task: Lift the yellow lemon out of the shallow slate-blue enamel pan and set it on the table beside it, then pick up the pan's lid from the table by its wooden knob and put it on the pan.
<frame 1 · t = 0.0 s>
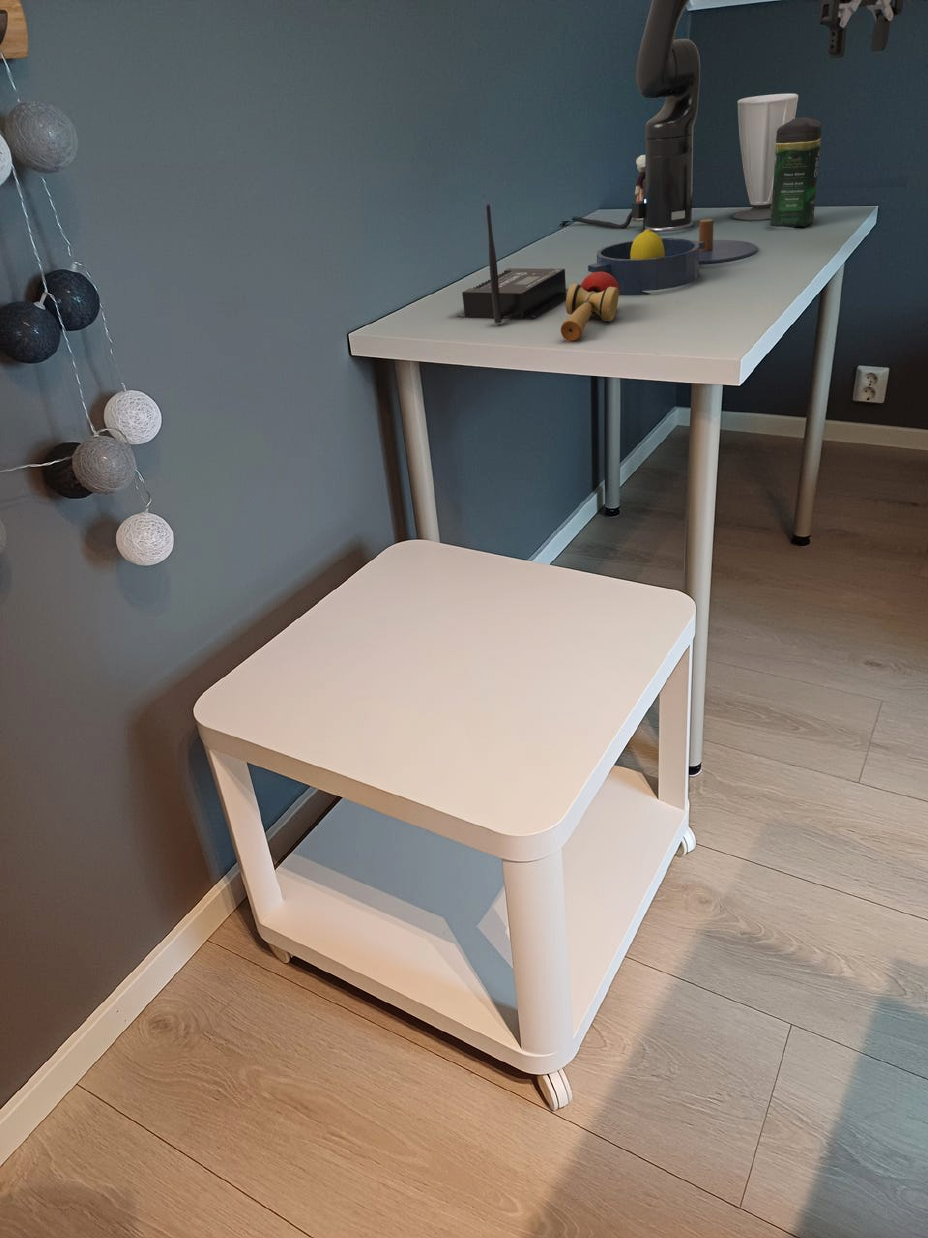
hand: (857, 54, 143), 29 cm above the table, tool pointing down, fingers open, 8 cm apart
cup: (761, 215, 196), on the table
lemon: (647, 281, 157), resting on pan
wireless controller: (511, 309, 152), on the table
coffee jar: (792, 225, 184), on the table
kendama: (589, 325, 139), on the table
pan lid: (705, 252, 168), point 1 cm above the table
pan: (647, 282, 157), on the table
grandmother figurine: (643, 219, 206), on the table
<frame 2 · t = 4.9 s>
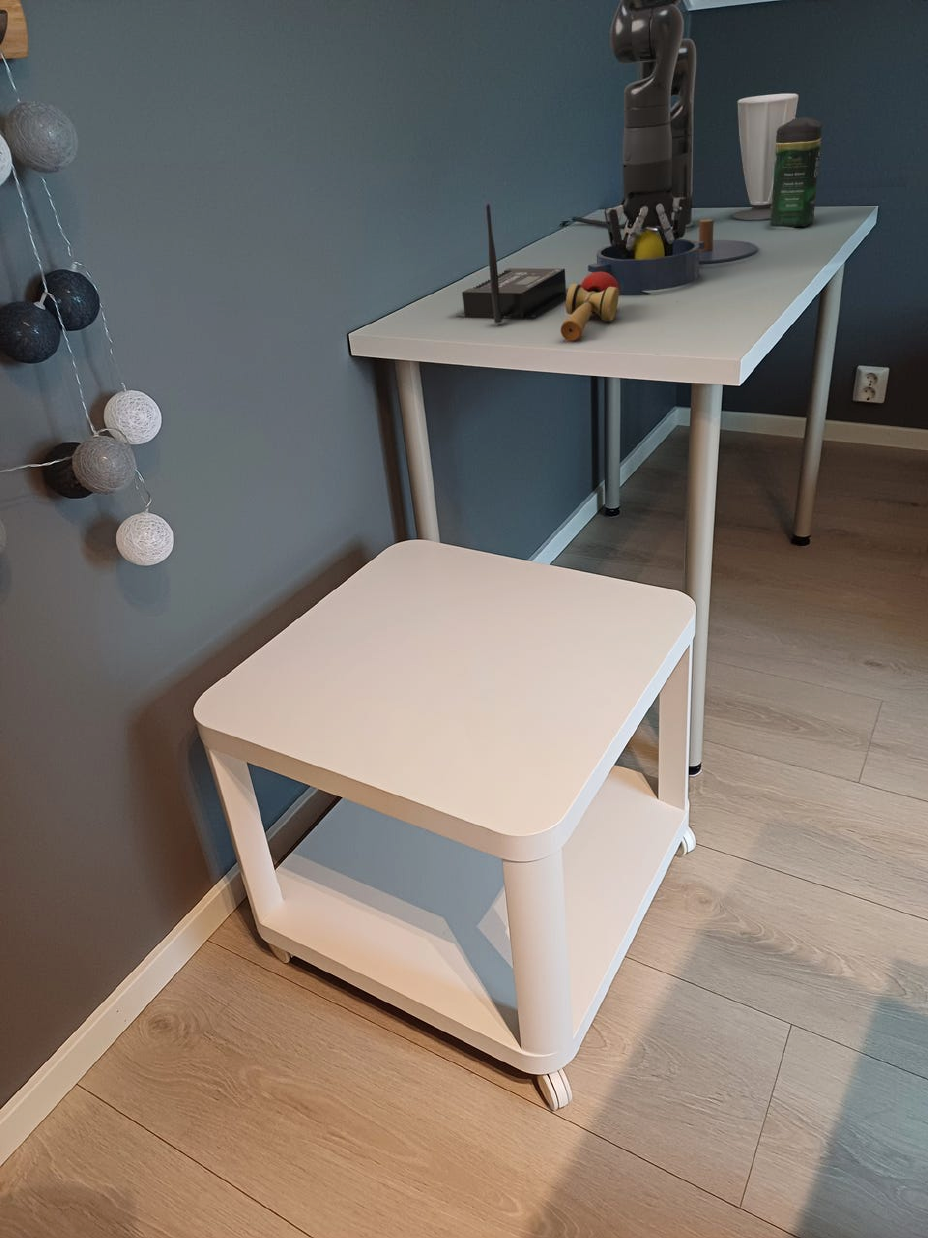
hand: (647, 269, 156), 2 cm above the table, tool pointing down, fingers closed on lemon, 5 cm apart
lemon: (647, 281, 157), resting on pan, touching gripper
everything else where it was.
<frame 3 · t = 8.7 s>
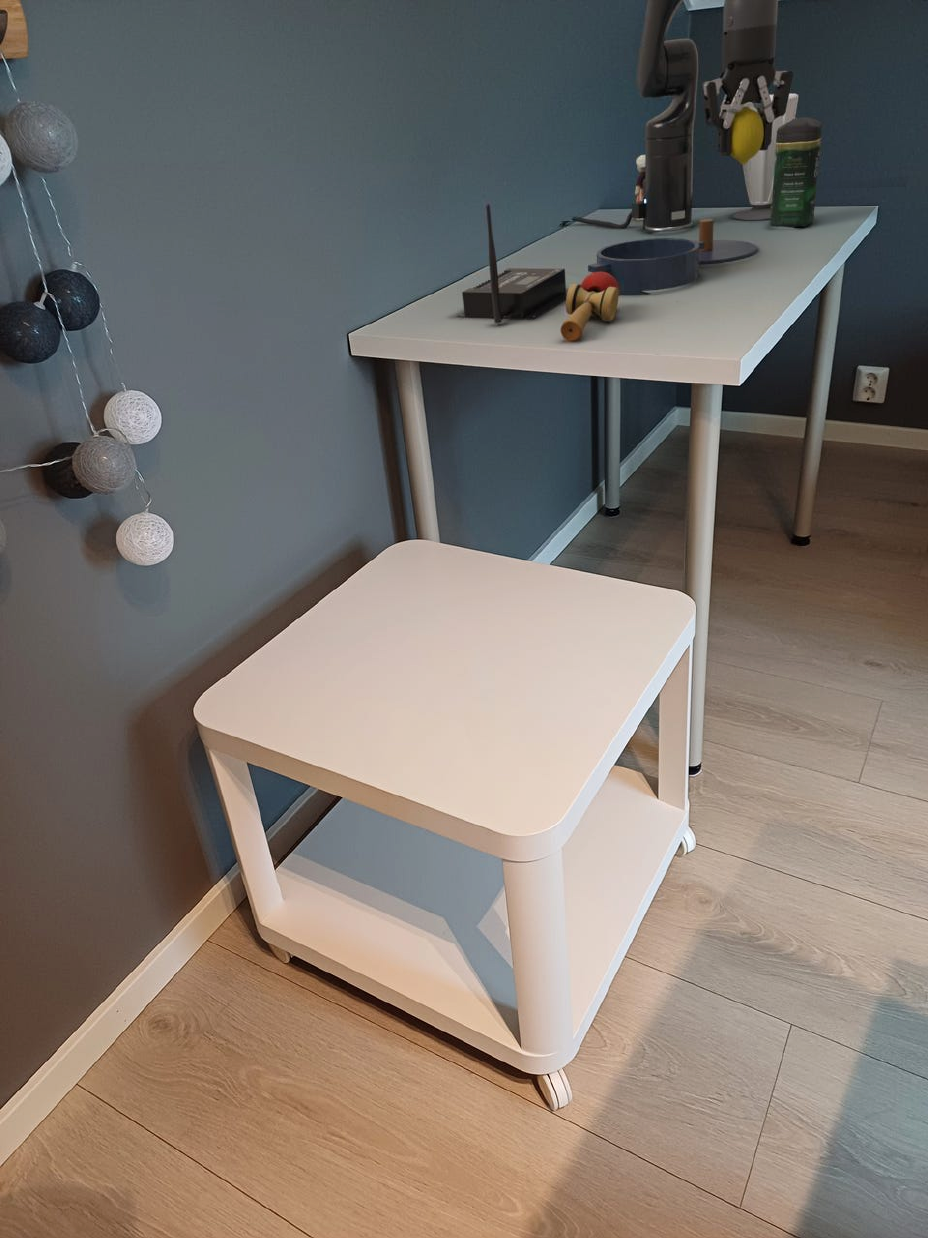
hand: (743, 152, 145), 18 cm above the table, tool pointing down, fingers closed on lemon, 5 cm apart
lemon: (743, 165, 146), point 16 cm above the table, touching gripper
everything else where it was.
when the fingers open (2 cm above the table, at t = 12.8 s): lemon stays where it is, on the table.
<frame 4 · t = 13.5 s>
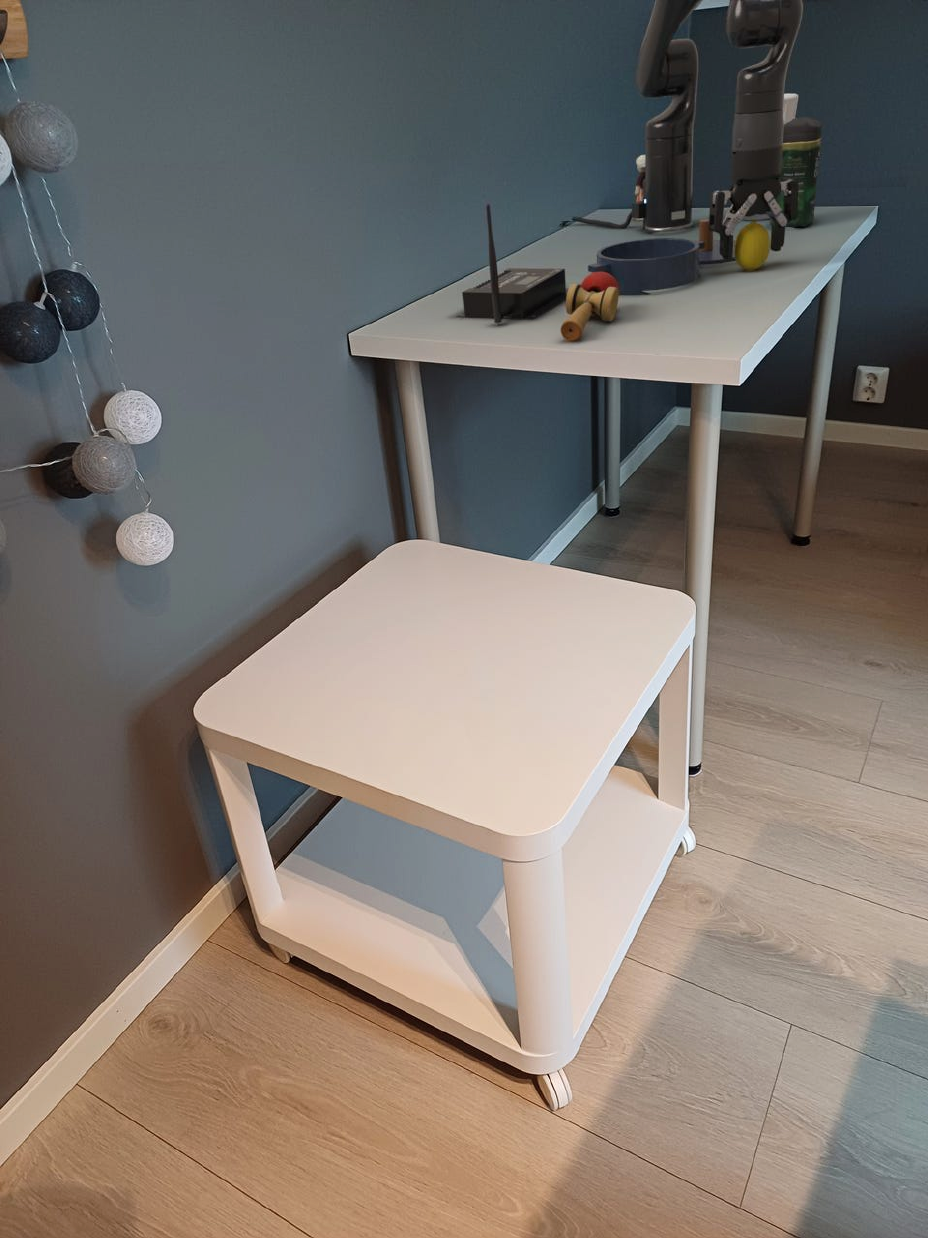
hand: (751, 254, 153), 3 cm above the table, tool pointing down, fingers open, 8 cm apart
lemon: (750, 274, 155), on the table
everything else where it was.
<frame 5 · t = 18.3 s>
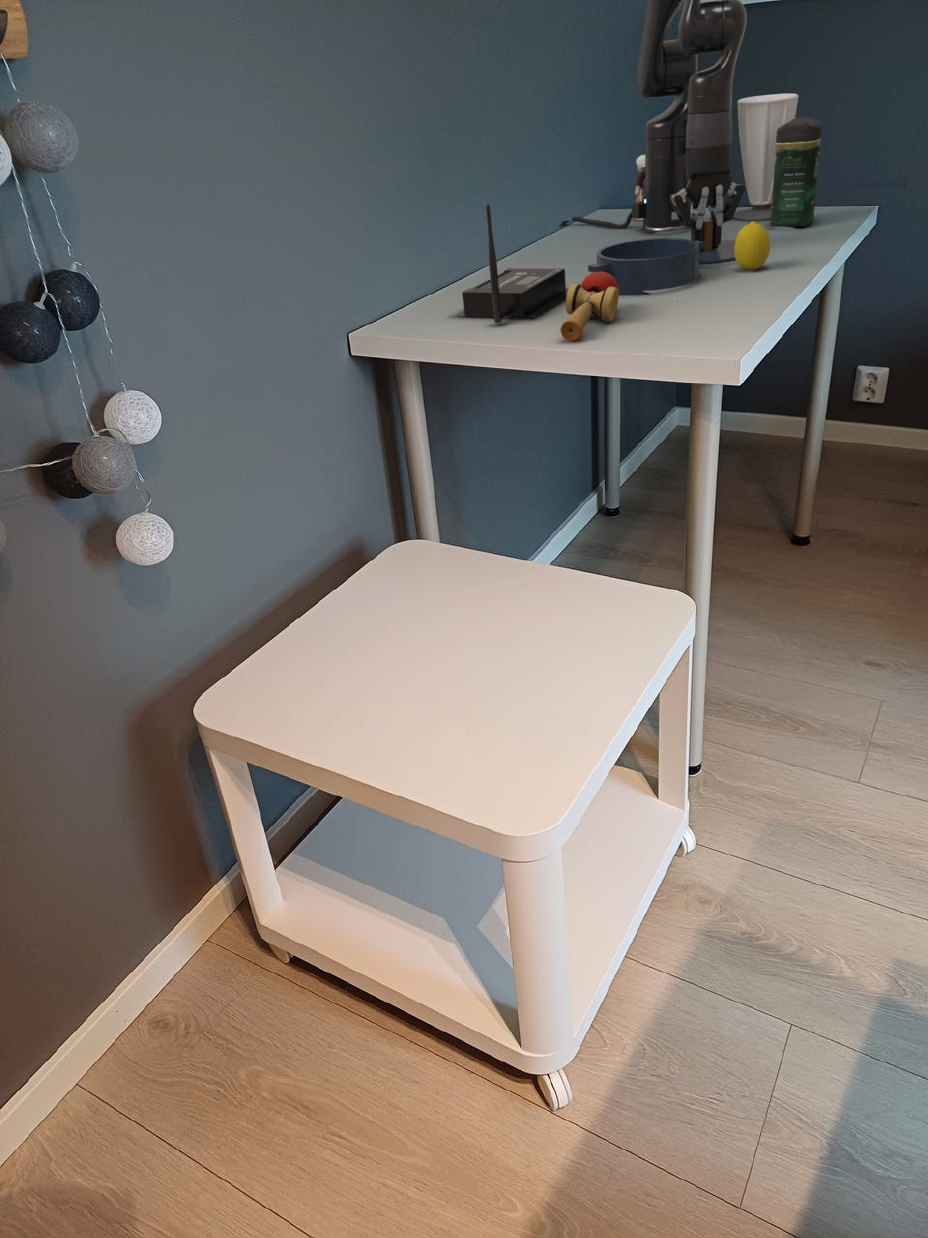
hand: (705, 248, 168), 1 cm above the table, tool pointing down, fingers closed on pan lid, 2 cm apart
pan lid: (705, 252, 168), point 1 cm above the table, touching gripper
everything else where it was.
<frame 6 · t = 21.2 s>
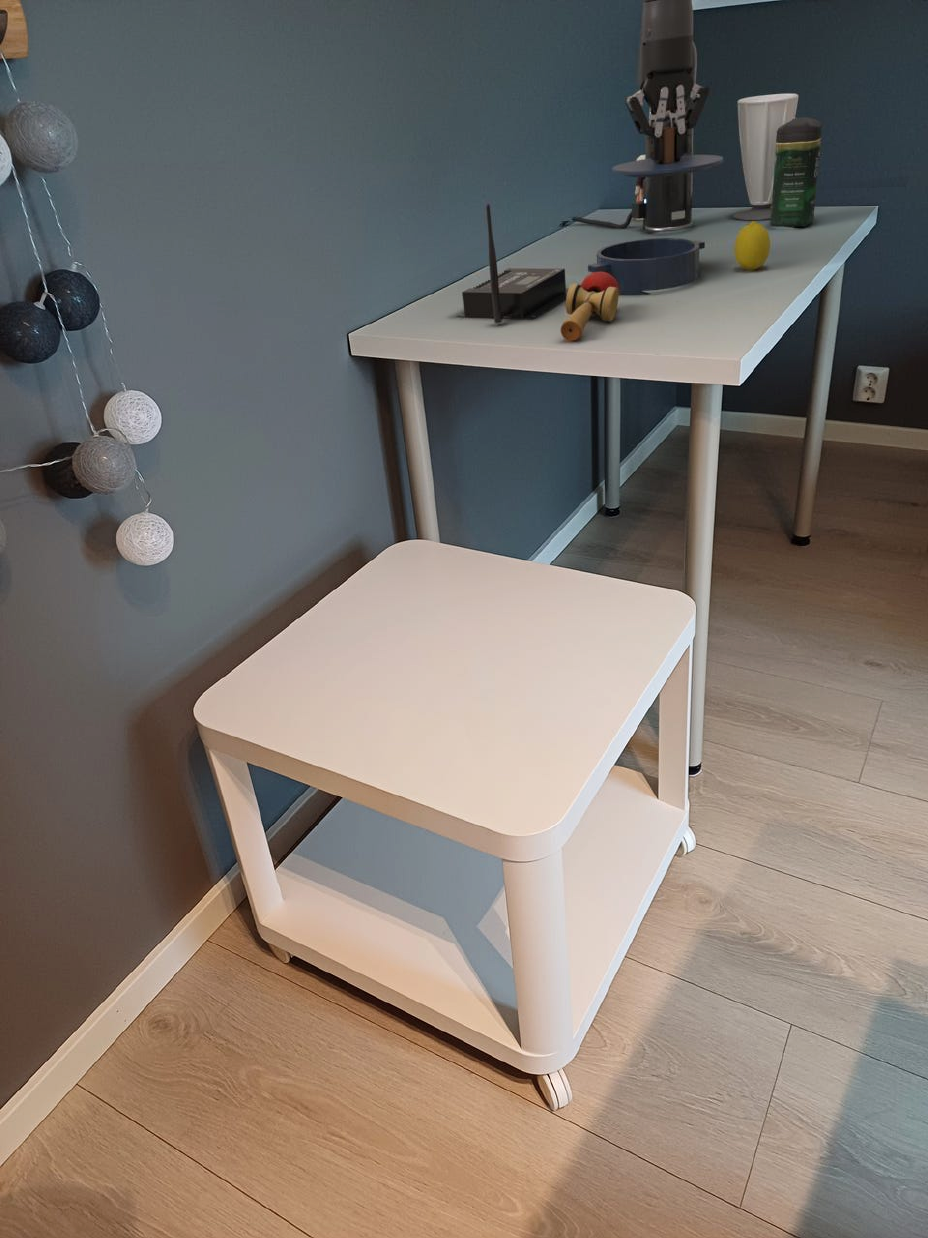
hand: (666, 161, 151), 18 cm above the table, tool pointing down, fingers closed on pan lid, 2 cm apart
pan lid: (667, 166, 151), point 17 cm above the table, touching gripper
everything else where it was.
when the fingers open (6 cm above the table, at t = 24.5 s): pan lid stays where it is, resting on pan.
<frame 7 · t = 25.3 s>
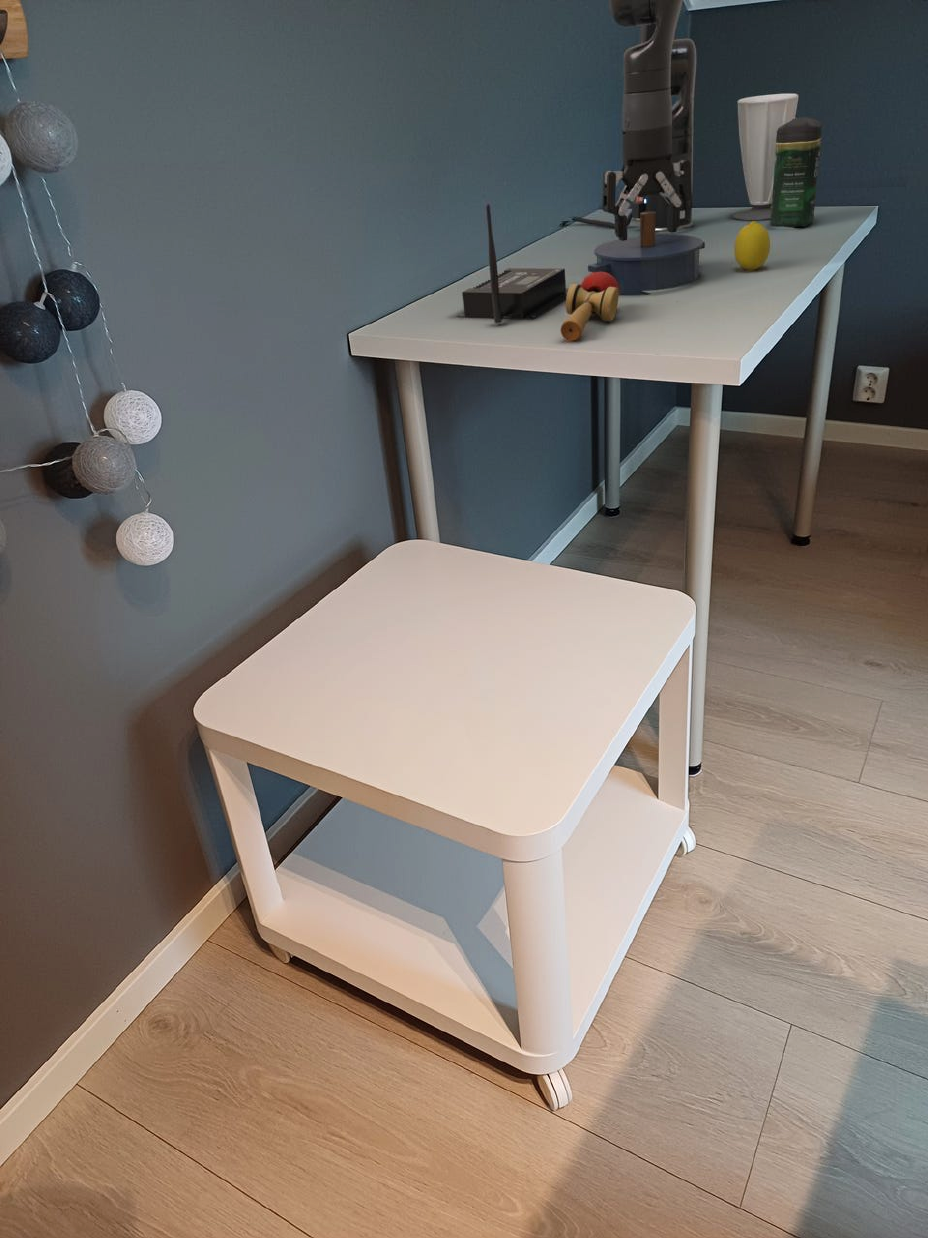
hand: (647, 235, 153), 7 cm above the table, tool pointing down, fingers open, 8 cm apart
pan lid: (647, 248, 154), point 5 cm above the table, touching pan
everything else where it was.
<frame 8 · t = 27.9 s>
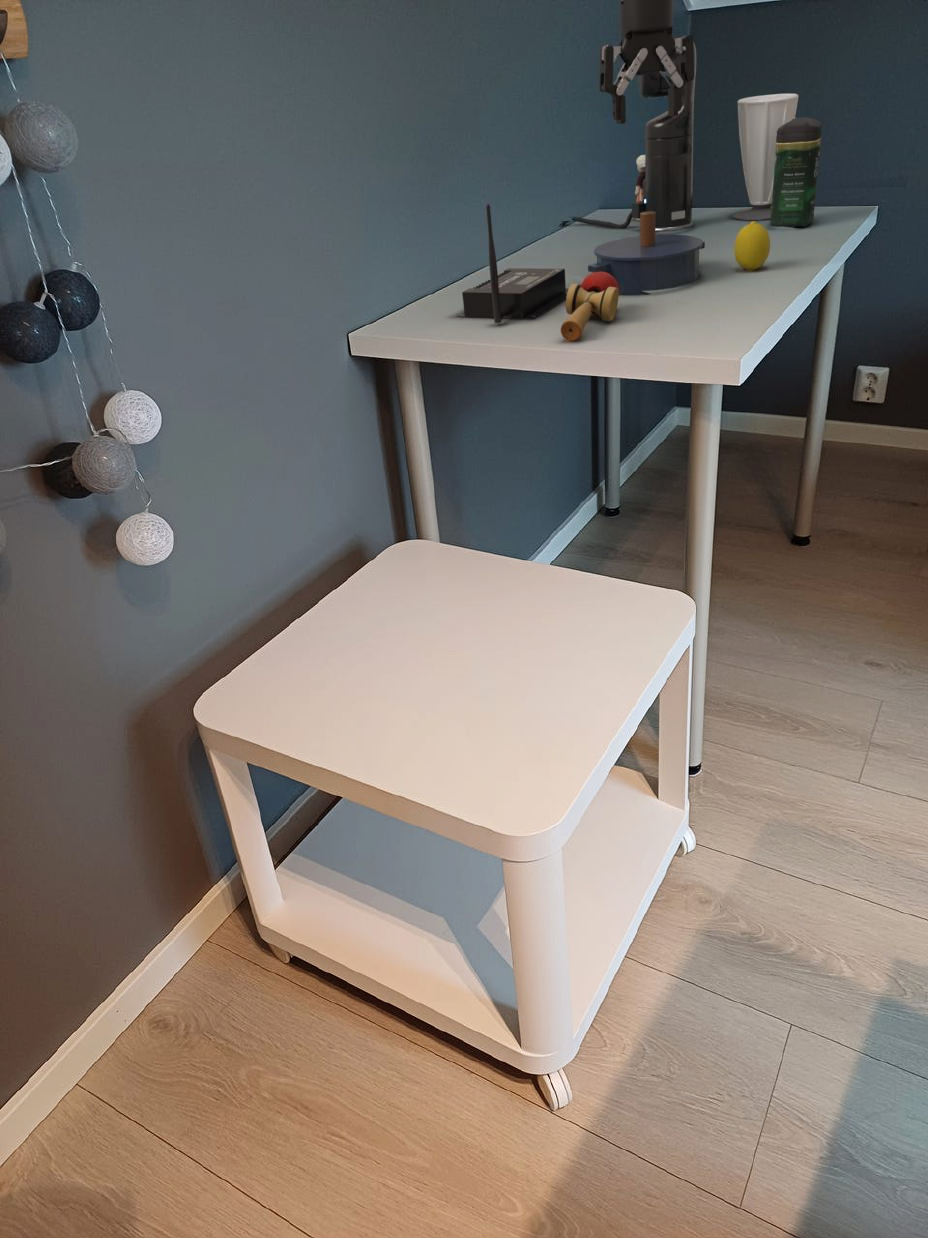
hand: (646, 119, 144), 24 cm above the table, tool pointing down, fingers open, 8 cm apart
nothing on the table moved.
at the end: lemon inside the target area (0.1 cm from its centre), on the table; pan lid 0.1 cm off-centre on the pan, point 5.3 cm above the pan's base; pan lid tilted 0° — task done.
